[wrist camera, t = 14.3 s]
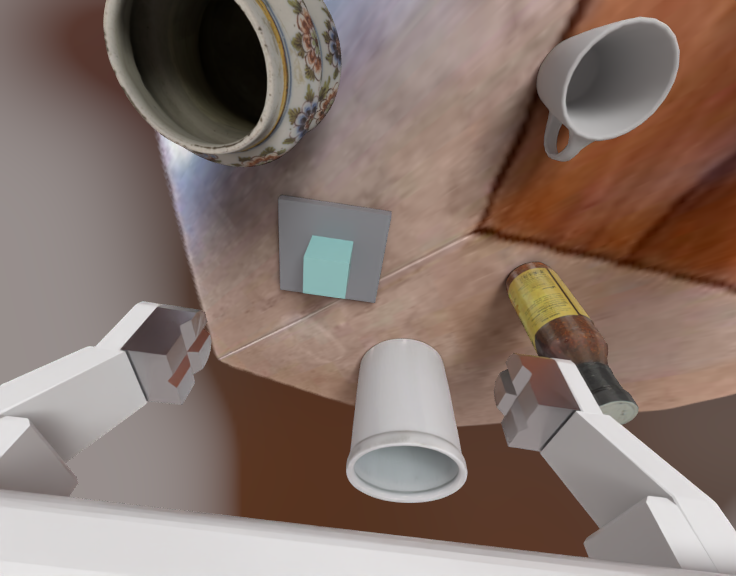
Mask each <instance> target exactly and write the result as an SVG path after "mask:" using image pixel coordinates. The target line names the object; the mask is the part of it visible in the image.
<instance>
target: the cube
mask: <svg viewBox="0 0 736 576" xmlns="http://www.w3.org/2000/svg"><path fill="white" fill-rule="evenodd" d="M352 249H353V241H348V240H341V239H334V238H327V237H320V236H314V235H312V238H311V240H310V242H309V245H308V247H307V250H306V252H305V255H304V265H303V293H307V294H314V295H321V296H328V297H335V298H342V299H345V296H346V291H347V285H348V279H349V273H350V265H351V257H352Z"/></svg>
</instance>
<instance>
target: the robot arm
mask: <svg viewBox="0 0 736 576" xmlns="http://www.w3.org/2000/svg"><path fill="white" fill-rule="evenodd" d="M206 323H207V318H206V314H205V312H203V311H201V310H196V309H190V308H184V307H178V306H171V305H165V304H157V303H150V302H145V301H143V302H140V303H138V304H136V305H135V306H134V307H133V308H132V309H131V310H130V311H129V312H128V313H127V314H126V315H125V316H124V318H122V320H121V321H120V322H119V323H118V324H117V325H116V326H115V327H114V328H113V329H112V330H111V331H110V332H109V333H108V334H107V335H106V336H105V337H104V338H103V339H102V340H101V341H100V342H99V343H98V344H97V345H96V346H95V347H91V346H88V347H86V348H83V349H81V350H79V351H76V352H74V353H72V354H70V355H67V356H65V357H63V358H61V359H59V360H56V361H54V362H52V363H50V364H47V365H45V366H43V367H40V368H38V369H36V370H34V371H31V372H29V373H27V374H25V375H22V376H20V377H18V378H15V379H13V380H11V381H9V382H7V383H4V384H2V385H0V576H736V531H735V530H734V528H733V527H732V525H731V524H730V522H729V521H728V520H727V518H726V517H725V515H724V514H723V512H722V511H721V509H720V508H719V506H718V505H717V504H716V502H714V501H713V500H712V499H711V498H709V497H708V496H707V495H706V494H705V493H703V492H702V491H701V490H700V489H698V488H697V487H696V486H695V485H693V484H692V483H691V482H690V481H689V480H687V479H686V478H685V477H684V476H683V475H681V474H680V473H679V472H678V471H677V470H675V469H674V468H673V467H672V466H670V465H669V464H668V463H667V462H666V461H664V460H663V459H662V458H661V457H660V456H658V455H657V454H656V453H655V452H653V451H652V450H651V449H650V448H649V447H647V446H646V445H645V444H644V443H642V442H641V441H640V440H639V439H638V438H636V437H635V436H634V435H633V434H631V433H630V432H629V431H628V430H627V429H625V428H624V427H623V426H622V425H621V424H619V423H618V422H617V421H616V420H614V419H613V418H612V417H611V416H610V415H604V414H603V413H602V411H601V409H600V408H599V406H598V404H597V402H596V401H595V399H594V397H593V395H592V393H591V392H590V390H589V388H588V386H587V385H586V383H585V381H584V379H583V378H582V376H581V374H580V372H579V370H578V369H577V367H576V365H575V364H574V363H573V362H572V361H570V360H564V359H556V358H547V357H540V356H532V355H524V354H516V353H513V354H512V355H510V356H509V358H508V359H507V361H506V365H507V368H508V369H507V370H505V371H503V372H501V373H499V375H498V377H497V379H496V381H495V388H494V397H495V402H496V406H497V408H498V409H499V410H500V411H501V412H502V413H503V414H504V415H505V416H504V418H503V420H502V422H501V424H502V427H503V431H504V433H505V437H506V441H507V444H508V446H509V447H515V448H522V449H528V450H534V451H541V452H540V453H541V455H542V456H543V458H544V459H545V460H546V461H547V463H548V464H549V465H550V466H551V467H552V469H553V470H554V471H555V473H556V474H557V475H558V476H559V478H560V479H561V480H562V481H563V482H564V484H565V485H566V486H567V488H568V489H569V490H570V491H571V493H572V494H573V495H574V496H575V498H576V499H577V500H578V501H579V503H580V504H581V505H582V506H583V508H584V509H585V510H586V511H587V513H588V514H589V515H590V516H591V518H592V519H593V520H594V521H595V522H596V524H597V525H598V526H599V528H600V529H599V530H598V531H596V532H595V533H593V534H592V535H590V536H589V537H587V539H586V541H585V542H584V545H585V548H586V551H587V553H588V556H589V558H585V557H576V556H566V555H559V554H550V553H542V552H534V551H525V550H516V549H508V548H500V547H491V546H482V545H474V544H466V543H457V542H448V541H440V540H432V539H423V538H414V537H406V536H397V535H389V534H381V533H372V532H363V531H355V530H347V529H338V528H330V527H321V526H313V525H304V524H295V523H287V522H278V521H270V520H262V519H253V518H244V517H236V516H227V515H218V514H210V513H202V512H193V511H185V510H176V509H168V508H159V507H151V506H141V505H133V504H125V503H116V502H108V501H98V500H91V499H81V498H74V497H69V496H70V494H71V493H72V492H73V490H74V488H75V487H76V486H77V484H78V481H77V477H76V476H75V475H74V473H73V472H72V471H71V470H70V468H69V467H68V466H67V465H66V464H65V463H66V462H67V461H69V460H70V459H71V458H73V457H74V456H76V455H77V454H78V453H80V452H81V451H83V450H84V449H85V448H87V447H88V446H89V445H91V444H92V443H93V442H95V441H96V440H97V439H99V438H100V437H102V436H103V435H104V434H106V433H107V432H108V431H110V430H111V429H113V428H114V427H115V426H117V425H118V424H119V423H121V422H122V421H123V420H125V419H126V418H127V417H129V416H130V415H132V414H133V413H134V412H136V411H137V410H138V409H139V408H141V407H142V406H144V405H145V404H146V403H147V401H151V402H161V403H171V404H181V405H182V404H183V402H184V401H185V399H186V397H187V395H188V394H189V392H190V390H191V388H192V387H193V385H194V383H195V381H194V377H193V374H195V373H196V372H198V371H200V370H201V369H203V367H204V365H205V364H206V362H207V360H208V357H209V353H210V350H211V338H210V334H209V333H208V332H207V331H206V330H205V329H204V326H205V325H206Z"/></svg>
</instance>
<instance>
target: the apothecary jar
mask: <svg viewBox="0 0 736 576" xmlns="http://www.w3.org/2000/svg"><path fill="white" fill-rule="evenodd" d="M104 37H105V42H106V48H107V52H108V56H109V59H110V62H111V65H112V67H113V70H114V72H115V74H116V77H117V79H118V81H119V83H120V85H121V87H122V88H123V90H124V92H125V94H126V95H127V97H128V99H129V100H130V101H131V103H132V105H133V106H134V107H135V109H136V110H137V111H138V112H139V114H140V115H141V116H142V117H143V118H144V119H145V120H146V121H147V122H148V123H149V124H150V125H151V126H152V127H153V128H154V129H155V130H156V131H158V132H159V133H160V134H161V135H163V136H164V137H166V138H167V139H169V140H171V141H172V142H174V143H176V144H178V145H180V146H182V147H184V148H186V149H187V150H189V151H190V152H192V153H194V154H196V155H198V156H200V157H202V158H204V159H207V160H209V161H212V162H215V163H219V164H223V165H228V166H235V167H252V166H258V165H263V164H267V163H269V162H271V161H274V160H276V159H278V158H280V157H281V156H283V155H284V154H286V153H287V152H289V151H290V150H291V149H292V148H293V147H294V146H295V145H296V144H297V143H298V142H299V141H300V140H301V139H302V137H303V136H304V135H305V133H307V132H309V131H310V130H312V129H313V128H314V127H315V126H317V125H318V124H319V123H320V122H321V120H322V119H323V118H324V117H325V116H326V114H327V113H328V111H329V110H330V108H331V106H332V104H333V102H334V100H335V97H336V94H337V91H338V87H339V82H340V75H341V50H340V43H339V38H338V34H337V31H336V27H335V24H334V22H333V19H332V17H331V15H330V13H329V11H328V9H327V7H326V5H325V3H324V2H323V0H106V4H105V10H104Z"/></svg>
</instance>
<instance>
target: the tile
mask: <svg viewBox="0 0 736 576" xmlns="http://www.w3.org/2000/svg"><path fill="white" fill-rule="evenodd" d="M278 216H279V256H280V289H281V290H288V291H295V292H302V293H303V265H304V255H305V252H306V250H307V247H308V245H309V242H310V240H311V238H312V235H314V236H320V237H327V238H334V239H341V240H348V241H353V249H352V257H351V265H350V273H349V279H348V285H347V291H346V296H345V299H351V300H358V301H365V302H372V303H375V300H376V294H377V289H378V284H379V279H380V273H381V268H382V263H383V258H384V252H385V247H386V242H387V237H388V231H389V226H390V221H391V211H385V210H378V209H372V208H365V207H358V206H352V205H345V204H339V203H332V202H325V201H319V200H312V199H306V198H299V197H292V196H286V195H280V197H279V198H278Z"/></svg>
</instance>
